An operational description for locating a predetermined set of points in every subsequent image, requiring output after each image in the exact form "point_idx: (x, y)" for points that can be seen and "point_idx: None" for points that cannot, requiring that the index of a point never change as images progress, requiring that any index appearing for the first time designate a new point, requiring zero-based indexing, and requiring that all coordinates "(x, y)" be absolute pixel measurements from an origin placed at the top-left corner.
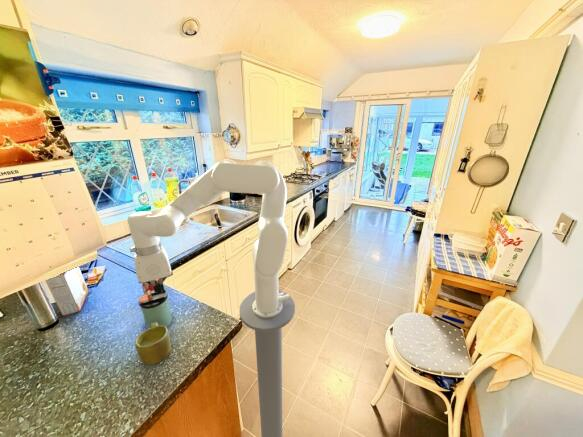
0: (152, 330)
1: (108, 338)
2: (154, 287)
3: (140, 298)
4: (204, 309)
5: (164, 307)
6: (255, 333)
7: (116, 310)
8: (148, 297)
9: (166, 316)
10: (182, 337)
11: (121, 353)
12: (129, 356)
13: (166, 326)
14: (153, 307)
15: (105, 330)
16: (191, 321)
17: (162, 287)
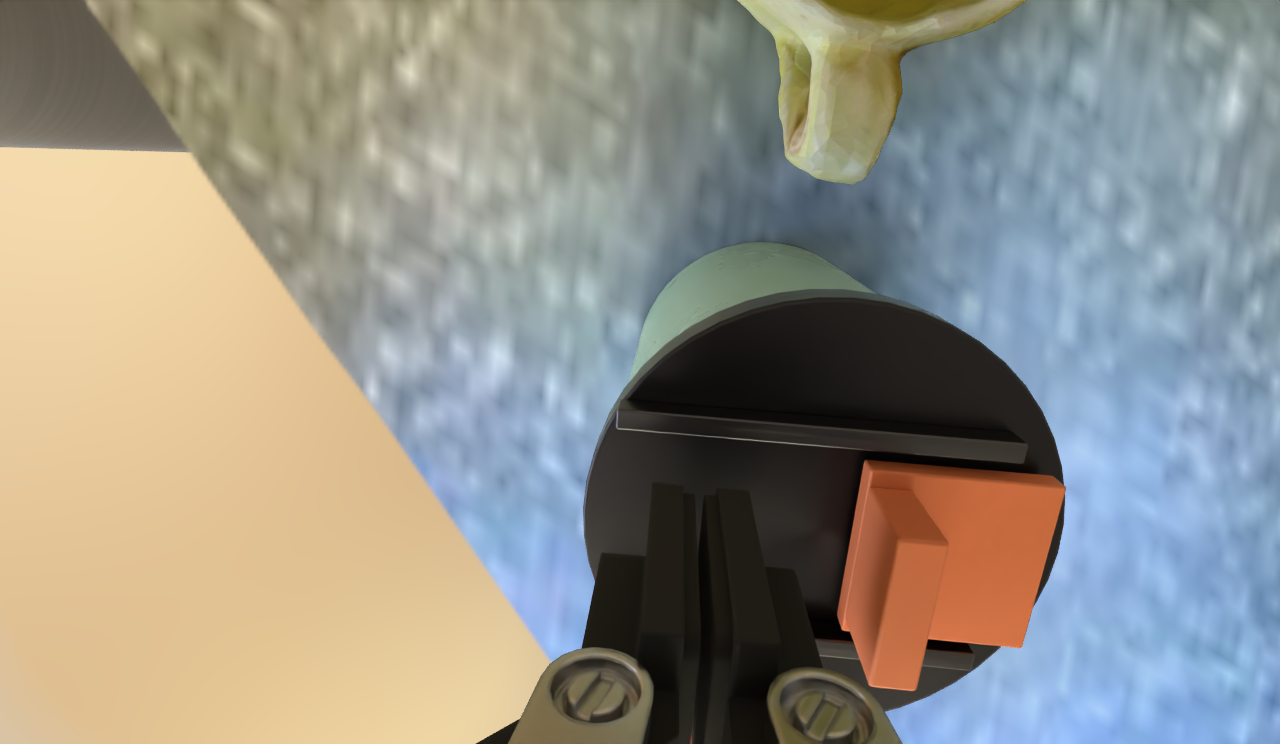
0: (885, 16)
1: (1207, 407)
2: (797, 651)
3: (1032, 595)
4: (318, 310)
5: (678, 326)
6: (92, 44)
7: (1081, 738)
8: (919, 510)
9: (681, 292)
10: (574, 5)
11: (1142, 126)
12: (1085, 35)
13: (703, 257)
14: (846, 290)
15: (1210, 529)
16: (462, 201)
17: (616, 593)
